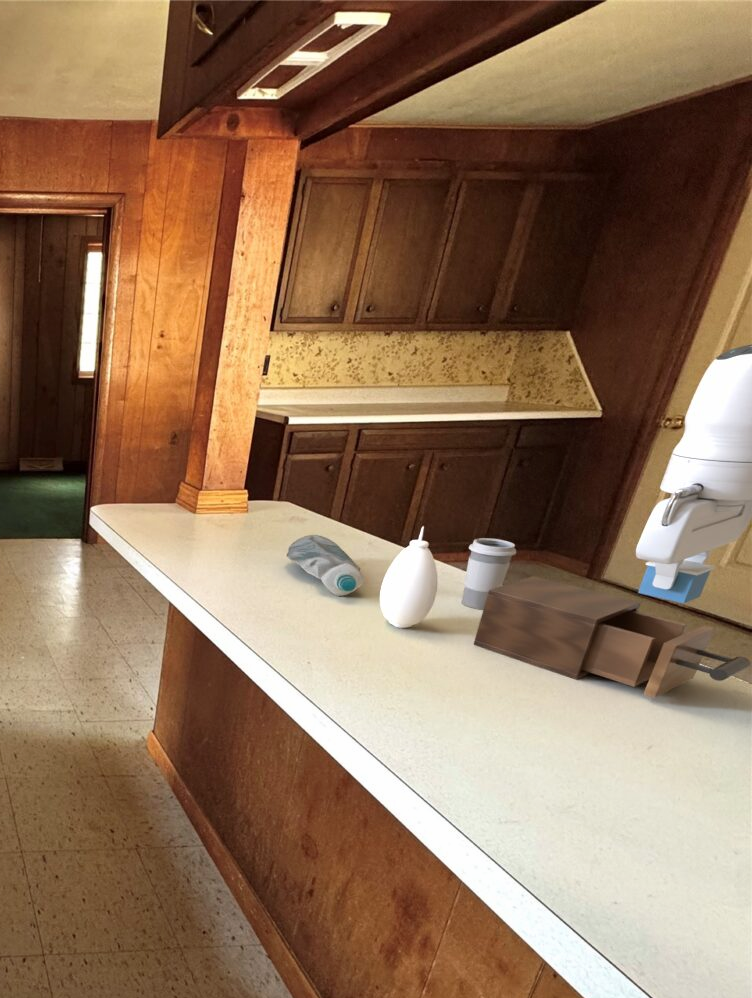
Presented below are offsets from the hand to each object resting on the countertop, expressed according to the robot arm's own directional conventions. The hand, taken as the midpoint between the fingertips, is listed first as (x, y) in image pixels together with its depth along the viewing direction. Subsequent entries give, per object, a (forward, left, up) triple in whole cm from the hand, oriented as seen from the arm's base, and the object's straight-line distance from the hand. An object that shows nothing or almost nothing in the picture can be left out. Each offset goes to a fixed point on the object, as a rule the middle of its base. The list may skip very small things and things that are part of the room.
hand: (673, 583), depth 88 cm
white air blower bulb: (+29, +7, -16) cm, 33 cm away
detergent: (+50, -2, -16) cm, 52 cm away
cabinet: (+12, -2, -16) cm, 20 cm away
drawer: (0, -2, -15) cm, 15 cm away
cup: (+28, -14, -16) cm, 35 cm away
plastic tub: (0, 0, -2) cm, 2 cm away
